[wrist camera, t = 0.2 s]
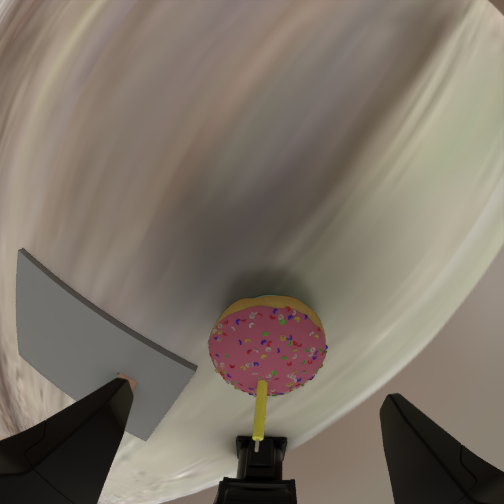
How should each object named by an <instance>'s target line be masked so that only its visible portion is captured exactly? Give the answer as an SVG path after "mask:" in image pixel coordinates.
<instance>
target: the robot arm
mask: <svg viewBox="0 0 504 504" xmlns="http://www.w3.org/2000/svg"><path fill="white" fill-rule="evenodd" d="M133 399H134V395H133V392H132V389H131V386H130V383H129V381H128V380H127V379H124V378H120V377H117V378H115V379H113V380H112V381H110V382H108V383H107V384H105V385H103V386H102V387H100V388H98V389H97V390H95V391H94V392H92V393H90V394H89V395H87V396H85V397H84V398H82V399H80V400H79V401H77V402H75V403H73V404H72V405H70V406H68V407H67V408H65V409H63V410H62V411H60V412H58V413H56V414H55V415H53V416H51V417H49V418H48V419H46V420H44V421H42V422H41V423H39V424H37V425H35V426H33V427H31V428H29V429H27V430H25V431H23V432H20V433H18V434H16V435H13V436H11V437H8V438H6V439H3V440H0V504H97V502H98V499H99V497H100V494H101V491H102V488H103V486H104V483H105V480H106V478H107V475H108V473H109V470H110V467H111V465H112V462H113V460H114V457H115V455H116V452H117V450H118V447H119V445H120V442H121V440H122V437H123V434H124V431H125V428H126V424H127V421H128V417H129V414H130V410H131V407H132V403H133ZM380 421H381V429H382V437H383V446H384V452H385V457H386V461H387V466H388V471H389V475H390V481H391V486H392V491H393V497H394V502H395V504H504V472H503V471H501V470H499V469H497V468H496V467H494V466H493V465H491V464H489V463H488V462H486V461H484V460H483V459H481V458H480V457H478V456H477V455H475V454H474V453H472V452H471V451H470V450H469V449H467V448H466V447H465V446H463V445H461V443H460V442H458V441H457V440H456V439H455V438H453V437H452V436H451V435H450V434H449V433H447V432H446V431H445V430H444V429H442V428H441V427H440V426H438V425H437V424H436V423H435V422H434V421H432V420H431V419H430V418H429V417H427V416H426V415H425V414H424V413H423V412H421V411H420V410H419V409H418V408H416V407H415V406H414V405H413V404H412V403H410V402H409V401H408V400H407V399H405V398H404V397H403V396H402V395H401V394H399V393H393V394H388V395H387V396H386V398H385V400H384V402H383V405H382V406H381V408H380ZM255 443H256V441H255V440H253V439H252V437H237V438H236V446H237V458H238V459H239V461H238V469H237V478H236V479H235V478H228V477H224V478H223V481H220V482H219V488H218V492H217V495H216V498H215V500H214V503H213V504H297V497H296V487H295V479H291V480H282V461H283V460H284V455H285V450H286V446H287V439H286V438H263V440H261V441H259V448H258V452H255Z"/></svg>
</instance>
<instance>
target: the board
mask: <svg viewBox="0 0 504 504" xmlns="http://www.w3.org/2000/svg"><path fill="white" fill-rule="evenodd" d="M16 325H17V340H18V350H19V355H20V356H21V357H22V358H23V359H24V360H25V361H26V362H28V363H29V364H30V365H31V366H32V367H33V368H34V369H36V370H37V371H38V372H39V373H40V374H41V375H43V376H44V377H45V378H46V379H48V380H49V381H50V382H51V383H53V384H54V385H55V386H57V387H58V388H59V389H60V390H62V391H63V392H65V393H66V394H67V395H69V396H70V397H71V398H73V399H74V400H76V401H79V400H80V399H82V398H84V397H85V396H87V395H89V394H90V393H92V392H94V391H95V390H97V389H98V388H100V387H102V386H103V385H105V384H107V383H108V382H110V381H112V380H113V378H114V377H115V375H116V374H118V375H119V373H121V374H123V375H124V376H126V377H128V378H129V379H131V380H133V381H135V382H136V385H135V388H134V390H133V395H134V399H133V403H132V407H131V410H130V414H129V417H128V421H127V424H126V428H125V431H126V432H128V433H130V434H132V435H134V436H136V437H138V438H140V439H142V440H144V441H147V440H148V438H149V437H150V435H151V434H152V433H153V431H154V430H155V428H156V427H157V426H158V424H159V423H160V421H161V420H162V419H163V417H164V416H165V414H166V413H167V412H168V410H169V409H170V407H171V406H172V405H173V403H174V402H175V400H176V399H177V398H178V396H179V395H180V393H181V392H182V390H183V389H184V388H185V386H186V385H187V383H188V382H189V380H190V379H191V378H192V376H193V375H194V373H195V372H196V369H197V366H195V365H193V364H192V363H190V362H188V361H186V360H184V359H182V358H180V357H178V356H176V355H174V354H173V353H171V352H169V351H167V350H165V349H163V348H162V347H160V346H158V345H156V344H155V343H153V342H151V341H149V340H148V339H146V338H144V337H143V336H141V335H139V334H138V333H136V332H134V331H133V330H131V329H130V328H128V327H126V326H125V325H123V324H122V323H120V322H119V321H117V320H116V319H114V318H112V317H111V316H109V315H108V314H106V313H105V312H104V311H102V310H101V309H99V308H98V307H96V306H95V305H93V304H92V303H91V302H89V301H88V300H86V299H85V298H84V297H82V296H81V295H79V294H78V293H77V292H75V291H74V290H73V289H71V288H70V287H69V286H68V285H66V284H65V283H64V282H62V281H61V280H60V279H59V278H57V277H56V276H55V275H54V274H52V273H51V272H50V271H49V270H47V269H46V268H45V267H44V266H43V265H41V264H40V263H39V262H38V261H37V260H36V259H34V258H33V257H32V256H31V255H30V254H29V253H28V252H27V251H25V250H24V249H23V248H22V249H20V250H18V259H17V274H16Z"/></svg>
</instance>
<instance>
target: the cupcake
mask: <svg viewBox="0 0 504 504" xmlns="http://www.w3.org/2000/svg"><path fill="white" fill-rule="evenodd" d="M325 343H326V339H325V333H324V329H323V327H322V324H321V321H320V319H319V317H318V315H317V314H316V313H315V312H314V311H313V310H312V309H310V308H309V307H308V306H306V305H305V304H304V303H303V302H301V301H300V300H298V299H296V298H293V297H288V296H277V295H262V296H259V297H256V298H243V299H240V300H239V301H237V302H235V303H233V304H232V305H230V306H229V307H228V308H227V309H226V310H225V311H224V312H223V313H222V315H221V316H220V318H219V319H218V321H217V322H216V324H215V326H214V328H213V330H212V332H211V334H210V339H209V341H208V348H209V352H210V356H211V359H212V362H213V364H214V366H215V368H216V369H215V370H216V372H217V373H218V372H219V373H220V375H221V376H222V377H223V379H225V381H226V382H227V383H231V384H232V385H234V386H235V387H234V388H235V389H238V390H239V389H240V390H241V391H243V392H247V393H249V395H253V396H254V395H256V396H257V397H256V396H254V397H256V407H255V417H254V427H253V436H252V439H253V440H255V441H256V443H255V452H258V448H259V441H261V440H263V438H264V426H265V412H266V398H267V396H277V395H284V394H287V393H289V392H291V391H293V390H294V389H296V388H298V387H300V386H304V384H305V383H307V382H308V380H312V379H313V378H314V377H313V376H315V374H317V371H318V369H319V368H322V366H323V364H322V363H323V361H324V359H325V356H326V353H327V351H326V349H327V348H328V346H327V345H326V344H325ZM326 347H327V348H326ZM321 365H322V366H321ZM311 377H312V379H311Z"/></svg>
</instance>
